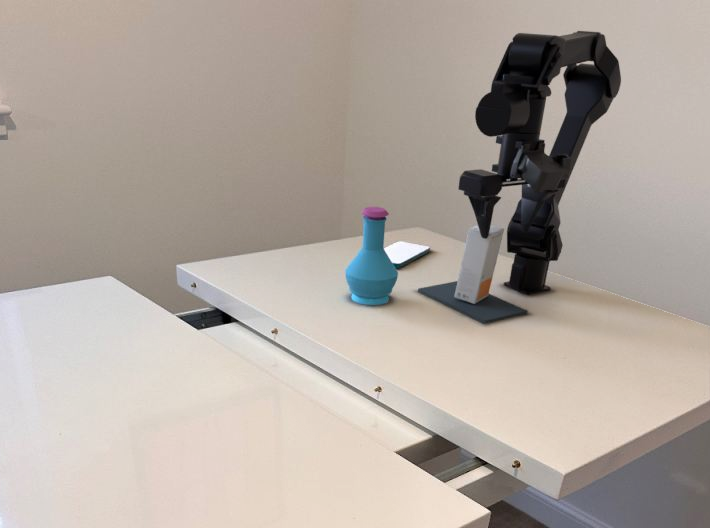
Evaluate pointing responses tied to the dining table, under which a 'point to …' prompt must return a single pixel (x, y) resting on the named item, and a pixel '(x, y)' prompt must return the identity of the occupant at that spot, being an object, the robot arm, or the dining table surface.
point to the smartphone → (405, 252)
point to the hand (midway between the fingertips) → (504, 235)
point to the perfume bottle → (372, 263)
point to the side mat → (481, 311)
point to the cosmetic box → (478, 264)
